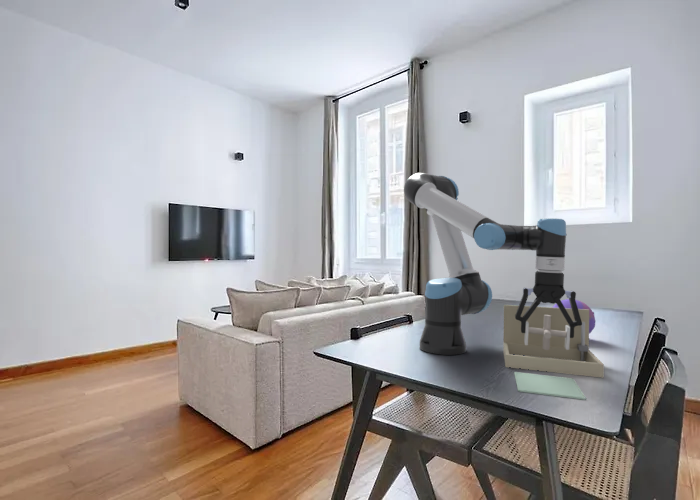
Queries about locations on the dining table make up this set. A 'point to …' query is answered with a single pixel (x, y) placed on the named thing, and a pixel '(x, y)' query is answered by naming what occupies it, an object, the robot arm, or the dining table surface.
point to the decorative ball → (580, 306)
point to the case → (556, 350)
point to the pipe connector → (547, 332)
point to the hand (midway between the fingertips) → (546, 346)
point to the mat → (548, 385)
